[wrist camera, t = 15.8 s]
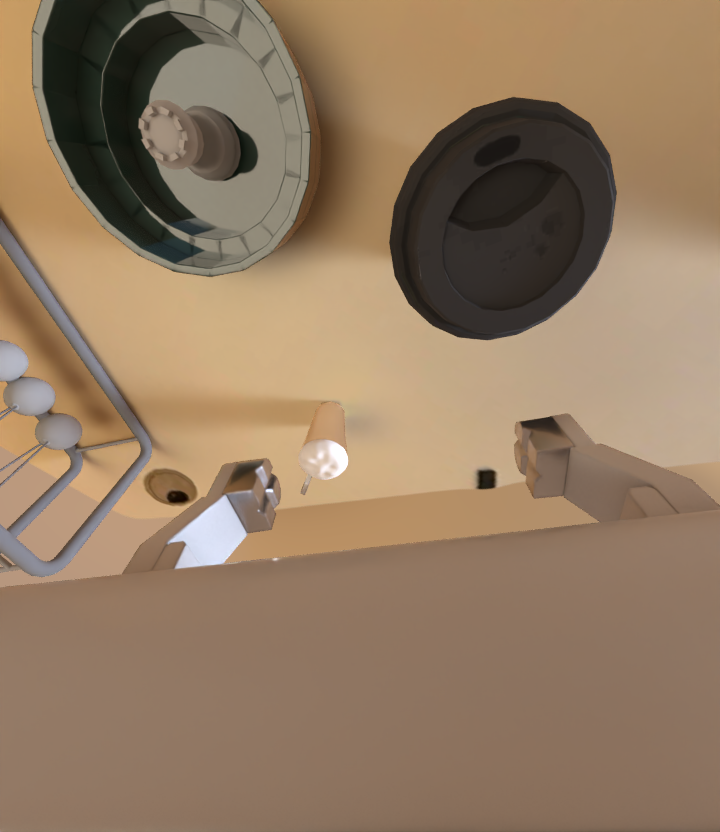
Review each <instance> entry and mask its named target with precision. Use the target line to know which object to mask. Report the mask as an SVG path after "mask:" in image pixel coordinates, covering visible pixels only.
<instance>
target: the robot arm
mask: <svg viewBox="0 0 720 832" xmlns="http://www.w3.org/2000/svg"><path fill="white" fill-rule="evenodd" d="M515 434H516V436H517V438H518V440H517V442H516V443H515V444H514V453H515V460H516V463H517V466H518V469H519V471H520V473H522V474H524V475H525V476H526V484H527V486H528V488H529V490H530V492H531V494H532V496H533V498H545V497H555V496H564V498H566V499H567V500H569V501H570V502H572V503H573V504H575V505H576V506H578V507H579V508H580V509H582V510H584V511H585V512H586V513H588V514H589V515H591V516H592V517H594V518H595V519H597V520H598V521H599V523H591V524H582V525H572V526H564V527H554V528H545V529H536V530H527V531H518V532H508V533H500V534H490V535H481V536H471V537H462V538H452V539H443V540H434V541H425V542H416V543H406V544H397V545H389V546H379V547H370V548H361V549H352V550H343V551H334V552H324V553H316V554H307V555H297V556H288V557H278V558H270V559H260V560H251V561H241V562H232V563H224V562H225V560H226V559H227V558H228V557H229V556H230V555H231V553H232V552H233V551H234V550H235V549H236V548H237V546H238V545H239V544H240V543H241V542H242V540H243V539H244V538H245V537H246V536H247V533H253V532H260V531H266V530H271V529H272V526H273V523H274V519H275V516H276V513H275V511H274V508H275V507H276V506H277V505H278V504H279V502H280V498H281V488H280V483H279V481H278V478H277V477H276V476H275V475H273V474H272V473H271V471H272V468H273V467H272V465H271V462H270V460H269V459H267V458H264V459H256V460H248V461H240V462H233V463H226V464H224V465H223V466H222V467H221V469H220V471H219V473H218V475H217V477H216V479H215V481H214V483H213V485H212V487H211V488H210V490H209V492H208V494H207V496H206V497H202V498H201V499H199V500H198V501H197V502H195V503H194V504H193V505H191V506H190V507H189V508H188V509H186V510H185V511H184V512H182V513H181V514H180V515H179V516H177V517H176V518H175V519H173V520H172V521H171V522H169V523H168V524H167V525H166V526H164V527H163V528H162V529H160V530H159V531H158V532H157V533H155V534H154V535H153V536H151V537H150V538H149V539H148V540H146V541H145V542H144V543H142V544H141V545H140V546H139V548H138V549H137V551H136V553H135V554H134V556H133V557H132V559H131V561H130V562H129V564H128V565H127V567H126V569H125V570H124V571H123V573H122V574H121V575H112V576H102V577H93V578H84V579H75V580H65V581H56V582H47V583H39V584H27V585H17V586H7V587H2V588H0V832H720V505H719V504H717V503H716V502H715V501H714V500H713V499H712V498H711V497H710V496H709V495H708V494H707V493H706V492H705V491H703V490H702V489H701V488H700V487H699V486H698V485H697V484H696V483H695V482H694V481H693V480H691V479H689V478H686V477H683V476H681V475H679V474H676V473H674V472H671V471H669V470H666V469H664V468H661V467H659V466H656V465H654V464H651V463H648V462H646V461H643V460H641V459H638V458H636V457H633V456H631V455H628V454H626V453H623V452H621V451H618V450H616V449H613V448H611V447H608V446H605V445H603V444H595V443H594V442H593V441H592V439H591V438H590V437H589V436H588V435H587V434H586V433H585V431H584V430H583V429H582V428H581V427H580V426H579V424H578V423H577V422H576V421H575V420H574V419H573V418H572V416H571V415H569V414H561V415H555V416H550V417H546V418H540V419H533V420H526V421H520V422H516V425H515Z"/></svg>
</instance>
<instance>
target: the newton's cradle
mask: <svg viewBox="0 0 720 832" xmlns="http://www.w3.org/2000/svg"><path fill="white" fill-rule="evenodd" d="M0 244H1V246H2V247H3V249H4V250H5V251H6V253H7V254H8V256H9V257H10V258H11V260H12V261H13V263H14V264H15V266H16V267H17V268H18V270H19V271H20V273H21V274H22V276H23V277H24V278H25V280H26V281H27V283H28V284H29V286H30V287H31V288H32V290H33V291H34V293H35V294H36V296H37V297H38V298H39V300H40V301H41V303H42V304H43V306H44V307H45V308H46V310H47V311H48V313H49V314H50V316H51V317H52V318H53V320H54V321H55V323H56V324H57V326H58V327H59V328H60V330H61V331H62V333H63V334H64V336H65V337H66V338H67V340H68V341H69V343H70V344H71V346H72V347H73V348H74V350H75V351H76V353H77V354H78V356H79V357H80V358H81V360H82V361H83V363H84V364H85V365H86V367H87V368H88V370H89V371H90V373H91V374H92V375H93V377H94V378H95V380H96V381H97V383H98V384H99V385H100V387H101V388H102V390H103V391H104V393H105V394H106V395H107V397H108V398H109V400H110V401H111V403H112V404H113V405H114V407H115V408H116V410H117V411H118V413H119V414H120V415H121V417H122V418H123V420H124V421H125V423H126V424H127V425H128V427H129V428H130V430H131V431H132V433H133V434H134V435H135V437H136V438H131V439H126V440H121V441H116V442H111V443H106V444H101V445H96V446H91V447H86V448H81V449H78V448H77V447H76V446H75V444H76V443H77V442H78V441H79V440H80V438H81V436H82V427H81V424H80V423H79V421H78V420H77V419H75V418H74V417H72V416H70V415H67V414H62V413H57V414H51V415H50V414H49V413H48V412H47V411H48V410H49V409H50V408H51V407H52V406H53V404H54V402H55V397H56V396H55V392H54V390H53V388H52V387H51V386H50V385H49V384H48V383H47V382H45V381H43V380H41V379H38V378H34V377H23V378H19V377H20V376H21V375H23V374H24V373H25V371H26V370H27V367H28V358H27V355H26V354H25V352H24V351H23V350H22V349H21V348H20V347H18V346H17V345H15V344H13V343H11V342H8V341H4V340H0V381H6V382H7V384H8V385H7V387H6V388H5V390H4V393H3V398H4V402H5V404H6V405H7V406H8V408H7V409H6V410H4V411H2V412H0V415H1V414H3V413H4V412H6V411H8V410H10V409H11V410H10V411H8V412H7V413H6V414H4V415H3V416H2V417H0V420H1V419H3V418H4V417H5V416H7V415H8V414H9V413H11V412H12V411H14V412H16V413H18V414H20V415H25V416H36V418H37V419H38V420H39V423H38V424H37V426H36V429H35V436H36V439H37V440H38V442H39V443H40V444H38V445H37V446H35V447H34V448H32V449H31V450H29V451H28V452H26V453H25V454H23V455H21V456H20V457H18V458H17V459H15V460H14V461H12V462H11V463H9V464H8V465H6V466H5V467H3V468H2V469H0V471H2V470H4V469H5V468H7V467H8V466H10V465H11V464H13V463H14V462H16V461H17V460H19V459H20V458H22V457H23V456H25V455H26V454H28V453H29V452H31V451H32V450H34V449H35V448H37V447H38V446H40V445H43V446H42V447H41V448H39V449H38V450H37V451H36V452H35V453H34V454H33V455H32V456H31V457H30V458H28V459H27V460H26V461H25V462H24V463H23V464H22V465H21V466H20V467H19V468H17V470H15V471H14V472H13V473H12V474H11V475H10V476H9V477H8V478H7V479H5V480H4V481H3V482H2V483H1V484H0V487H1V486H2V485H3V484H4V483H5V482H6V481H7V480H9V479H10V478H11V477H12V476H13V475H14V474H15V473H16V472H17V471H18V470H19V469H20V468H22V467H23V466H24V465H25V464H26V463H27V462H28V461H29V460H30V459H31V458H32V457H33V456H35V455H36V454H37V453H38V452H39V451H40V450H41V449H42V448H43V447H46V448H49V449H53V450H62V449H64V451H65V452H66V453H67V454H68V455H69V457H70V460H71V465H70V468H69V469H68V471H67V472H65V473H64V474H63V475H62V476H61V477H60V478H59V479H58V480H57V481H56V482H55V483H54V484H53V485H52V486H51V487H50V488H49V489H48V490H47V491H46V492H45V493H44V494H43V495H42V496H41V497H40V498H39V499H38V500H37V501H36V502H35V503H33V505H31V506H30V507H29V508H28V509H27V510H26V511H25V512H24V513H23V514H22V515H21V516H20V517H19V518H18V519H17V520H16V521H15V522H14V523H13V524H12V525H11V526H10V527H9V528H8V529H7V530H6V529H5V528H4V527H3V526H2V525H1V524H0V554H1V553H3V554H4V555H5V556H6V557H7V558H9V559H10V560H11V561H12V562H13V563H14V564H16V565H12V564H11V563H9V562H8V561H7V560H6V559H4V558H3V557H2V556H1V555H0V564H1V565H2V566H3V567H0V573H1V572H7V571H13V570H20V569H22V570H23V571H24V572H26V573H28V574H30V575H31V576H39V577H45V576H49V575H53V574H55V573H57V572H59V571H60V570H62V569H63V568H64V567H65V566H66V565H67V564H68V563H69V562H70V561H71V560H72V558H73V557H74V556H75V555H76V553H77V552H78V551H79V550H80V548H81V547H82V546H83V544H84V543H85V542H86V541H87V539H88V538H89V537H90V536H91V534H92V533H93V532H94V530H95V529H96V528H97V527H98V525H99V524H100V523H101V521H102V520H103V519H104V518H105V516H106V515H107V514H108V513H109V511H110V510H111V509H112V507H113V506H114V505H115V504H116V502H117V501H118V500H119V498H120V497H121V496H122V495H123V493H124V492H125V491H126V489H127V488H128V487H129V486H130V484H131V483H132V482H133V480H134V479H135V478H136V477H137V475H138V474H139V473H140V471H141V470H142V469H143V468H144V466H145V465H146V464H147V463H148V461H149V459H150V457H151V453H152V445H151V441H150V439H149V437H148V435H147V433H146V432H145V430H144V429H143V428H142V426H141V425H140V423H139V422H138V420H137V419H136V417H135V416H134V414H133V413H132V411H131V410H130V408H129V407H128V405H127V404H126V402H125V401H124V399H123V398H122V396H121V395H120V394H119V392H118V391H117V389H116V388H115V386H114V385H113V383H112V382H111V380H110V379H109V377H108V376H107V374H106V373H105V371H104V370H103V368H102V367H101V365H100V364H99V362H98V361H97V360H96V358H95V357H94V355H93V354H92V352H91V351H90V349H89V348H88V346H87V345H86V343H85V342H84V340H83V339H82V337H81V336H80V334H79V333H78V331H77V330H76V329H75V327H74V326H73V324H72V323H71V321H70V320H69V318H68V317H67V315H66V314H65V312H64V311H63V309H62V308H61V306H60V305H59V303H58V302H57V300H56V299H55V297H54V296H53V295H52V293H51V292H50V290H49V289H48V287H47V286H46V284H45V283H44V281H43V280H42V278H41V277H40V275H39V274H38V272H37V271H36V269H35V268H34V266H33V265H32V264H31V262H30V261H29V259H28V258H27V256H26V255H25V253H24V252H23V250H22V249H21V247H20V246H19V244H18V243H17V241H16V240H15V238H14V237H13V235H12V234H11V232H10V231H9V230H8V228H7V227H6V225H5V224H4V222H3V221H2V219H1V218H0ZM133 441H139V443H140V447H141V452H140V455H139V457H138V458H137V459H136V460H135V462H134V463H133V464H132V465H131V467H130V468H129V469H128V470H127V471H126V473H125V474H124V475H123V476H122V477H121V479H120V480H119V481H118V482H117V483H116V485H115V486H114V487H113V488H112V489H111V491H110V492H109V493H108V494H107V495H106V497H105V498H104V499H103V500H102V502H101V503H100V504H99V505H98V506H97V508H96V509H95V510H94V511H93V512H92V514H91V515H90V516H89V517H88V518H87V520H86V521H85V522H84V523H83V524H82V526H81V527H80V528H79V529H78V530H77V532H76V533H75V534H74V536H73V537H72V538H71V539H70V540H69V541H68V543H67V544H66V545H65V546H64V547H63V549H62V550H61V551H60V552H59V553H58V555H57V556H56V557H55V558H54V559H53V560H51V561H47V562H45V561H42V560H40V559H39V558H38V557H36V556H35V555H34V554H33V553H32V552H31V551H30V550H29V549H27V548H26V547H25V546H24V545H23V544H22V543H20V541H18V540H17V539H16V537H17V536H18V535H19V534H20V533H21V532H22V531H23V530H24V529H25V528H26V527H27V526H28V525H29V524H30V523H31V522H32V521H33V520H34V519H35V518H36V517H37V516H38V515H39V514H40V513H41V512H42V511H43V510H44V509H45V508H46V507H47V506H48V505H49V504H50V503H51V502H52V501H53V499H55V498H56V497H57V496H58V495H59V494H60V493H61V492H62V491H63V490H64V488H65V487H66V486H67V485H68V484H69V483H70V482H71V481H72V480H73V479H74V478H75V477H76V476H77V475H78V474H79V472H80V471H81V468H82V464H83V459H82V456H81V453H80V452H83V451H88V450H93V449H98V448H103V447H108V446H113V445H118V444H123V443H128V442H133Z"/></svg>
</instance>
